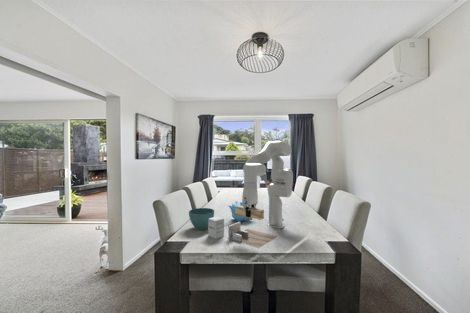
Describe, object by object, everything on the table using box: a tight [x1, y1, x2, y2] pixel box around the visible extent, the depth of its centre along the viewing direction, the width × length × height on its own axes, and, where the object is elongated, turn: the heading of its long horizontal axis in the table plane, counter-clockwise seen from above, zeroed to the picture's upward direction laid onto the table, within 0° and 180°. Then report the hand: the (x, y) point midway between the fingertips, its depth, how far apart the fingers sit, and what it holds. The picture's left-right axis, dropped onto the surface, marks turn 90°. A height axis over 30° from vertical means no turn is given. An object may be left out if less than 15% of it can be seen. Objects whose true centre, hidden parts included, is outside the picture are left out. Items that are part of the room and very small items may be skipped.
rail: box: [235, 205, 265, 221], centre depth 133 cm, size 4×18×5 cm, turn 51°
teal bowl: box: [188, 207, 215, 231], centre depth 162 cm, size 18×18×12 cm
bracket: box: [227, 221, 249, 243], centre depth 138 cm, size 11×8×8 cm
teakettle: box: [227, 200, 253, 224], centre depth 180 cm, size 19×19×15 cm
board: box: [226, 228, 278, 249], centre depth 139 cm, size 22×23×2 cm
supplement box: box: [207, 216, 225, 240], centre depth 142 cm, size 7×7×13 cm
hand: (250, 215), depth 133 cm, fingers closed on rail, 4 cm apart
